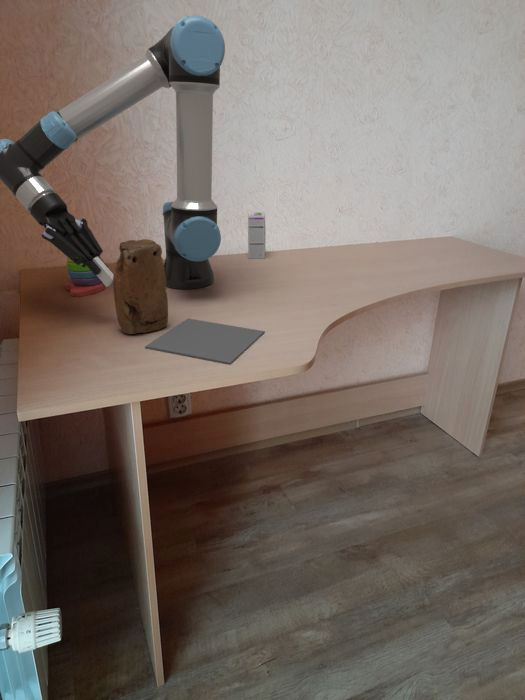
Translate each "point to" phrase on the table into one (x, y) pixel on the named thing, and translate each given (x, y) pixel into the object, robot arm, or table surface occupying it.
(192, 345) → the mat
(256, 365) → the table surface
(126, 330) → the block
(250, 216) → the syrup box
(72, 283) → the stacking bear
